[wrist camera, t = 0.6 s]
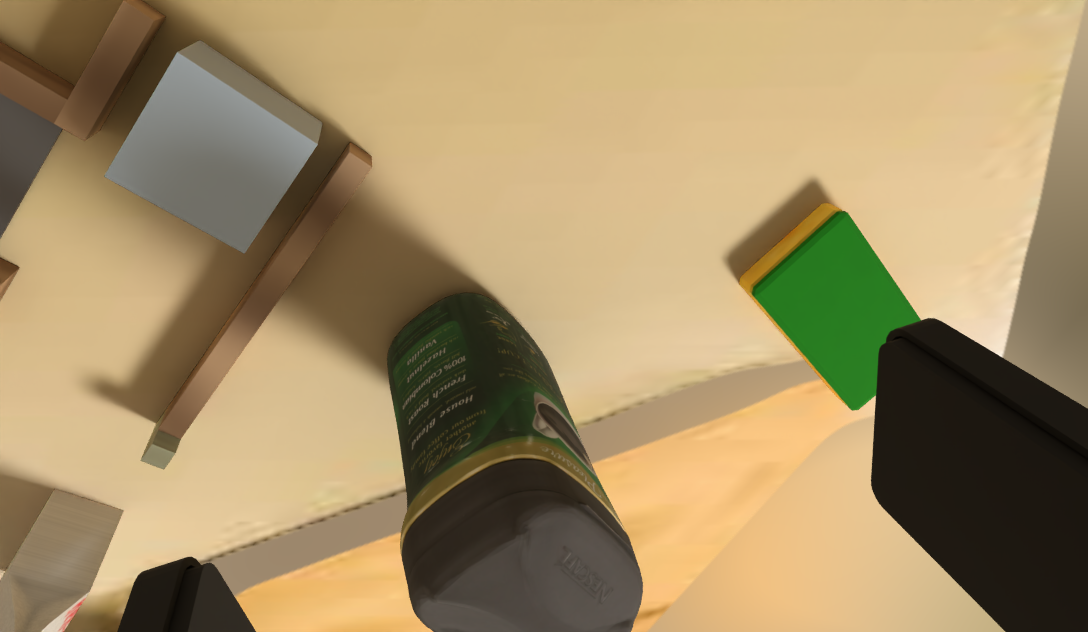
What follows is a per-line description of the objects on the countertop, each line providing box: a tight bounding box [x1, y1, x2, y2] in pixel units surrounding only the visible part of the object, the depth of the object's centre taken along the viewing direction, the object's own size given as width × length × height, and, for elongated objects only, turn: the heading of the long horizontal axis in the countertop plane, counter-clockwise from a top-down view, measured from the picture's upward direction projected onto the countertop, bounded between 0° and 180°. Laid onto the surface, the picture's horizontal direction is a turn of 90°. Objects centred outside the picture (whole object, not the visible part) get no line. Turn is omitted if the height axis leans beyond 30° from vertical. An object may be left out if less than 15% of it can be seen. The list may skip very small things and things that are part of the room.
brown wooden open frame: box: [0, 0, 372, 469], centre depth 31 cm, size 19×18×3 cm
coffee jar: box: [387, 293, 643, 632], centre depth 33 cm, size 10×8×19 cm
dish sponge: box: [739, 203, 921, 410], centre depth 45 cm, size 7×14×2 cm, turn 42°
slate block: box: [104, 40, 323, 254], centre depth 31 cm, size 6×6×4 cm
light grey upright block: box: [0, 489, 123, 632], centre depth 36 cm, size 4×7×10 cm, turn 142°
